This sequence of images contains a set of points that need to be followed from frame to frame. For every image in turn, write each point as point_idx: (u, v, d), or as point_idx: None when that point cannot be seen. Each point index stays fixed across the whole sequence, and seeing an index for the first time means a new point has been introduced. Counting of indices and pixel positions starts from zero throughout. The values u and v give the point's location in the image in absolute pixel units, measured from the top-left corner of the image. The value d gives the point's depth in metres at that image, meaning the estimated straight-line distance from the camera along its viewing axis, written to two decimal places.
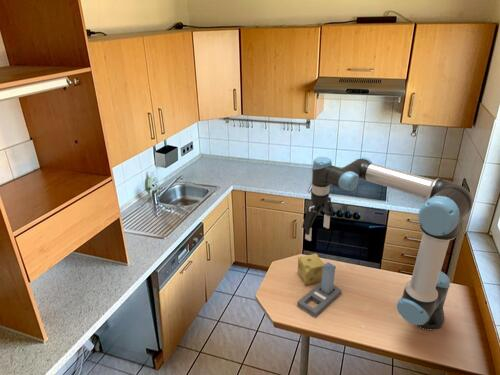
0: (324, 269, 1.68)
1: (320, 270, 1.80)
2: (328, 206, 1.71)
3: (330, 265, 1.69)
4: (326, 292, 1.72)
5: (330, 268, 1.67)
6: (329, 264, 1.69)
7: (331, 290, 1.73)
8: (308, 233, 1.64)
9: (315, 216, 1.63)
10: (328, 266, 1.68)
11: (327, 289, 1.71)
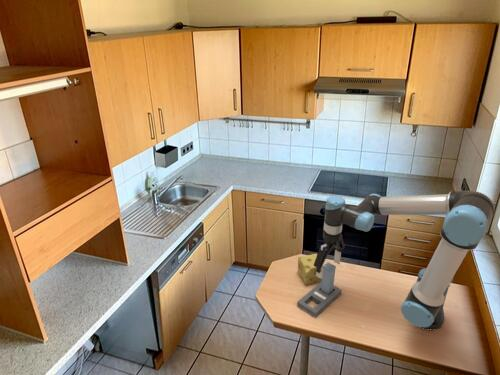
0: (324, 269, 1.68)
1: None
2: (339, 242, 1.68)
3: (330, 265, 1.69)
4: (326, 292, 1.72)
5: (330, 268, 1.67)
6: (329, 264, 1.69)
7: (331, 290, 1.73)
8: (319, 271, 1.62)
9: (327, 254, 1.60)
10: (328, 265, 1.68)
11: (327, 289, 1.71)
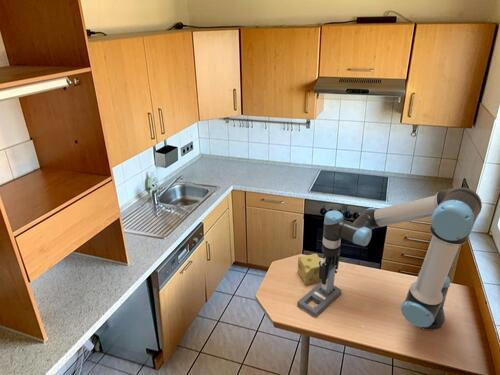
0: None
1: None
2: None
3: None
4: (326, 292, 1.72)
5: (330, 268, 1.67)
6: None
7: (331, 290, 1.73)
8: (325, 283, 1.69)
9: (329, 267, 1.65)
10: None
11: (327, 289, 1.71)
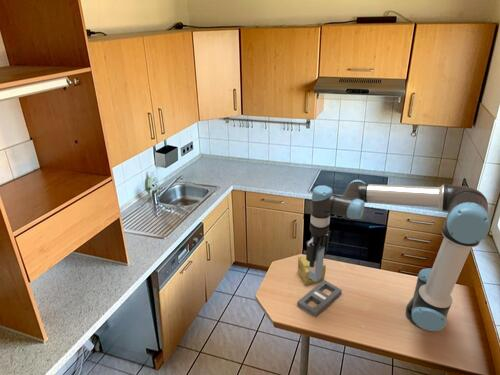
0: None
1: None
2: (324, 242, 1.58)
3: (319, 246, 1.56)
4: (314, 276, 1.59)
5: (318, 249, 1.54)
6: None
7: (320, 274, 1.60)
8: (312, 266, 1.56)
9: (317, 248, 1.52)
10: None
11: None
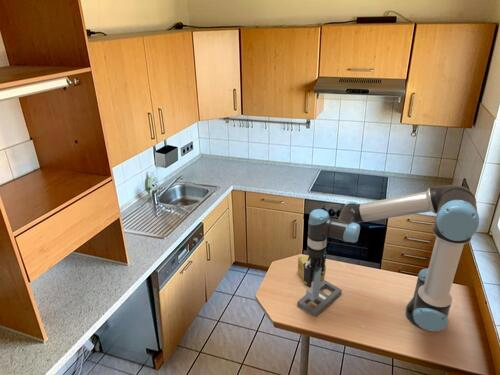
0: None
1: None
2: (321, 262, 1.61)
3: None
4: (311, 295, 1.63)
5: (315, 270, 1.57)
6: None
7: (317, 293, 1.64)
8: (310, 286, 1.59)
9: (314, 269, 1.56)
10: None
11: None
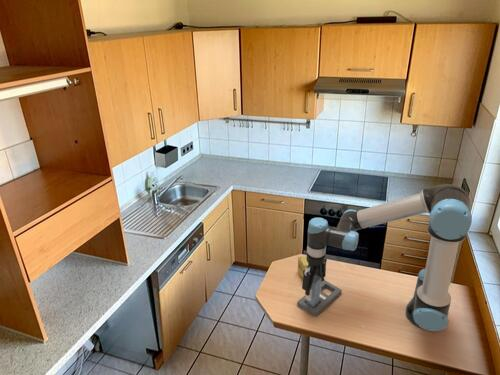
0: None
1: None
2: (321, 268, 1.63)
3: (316, 276, 1.62)
4: (311, 304, 1.65)
5: (315, 280, 1.60)
6: (315, 275, 1.62)
7: (317, 302, 1.66)
8: (308, 294, 1.60)
9: (313, 277, 1.57)
10: None
11: (312, 301, 1.64)
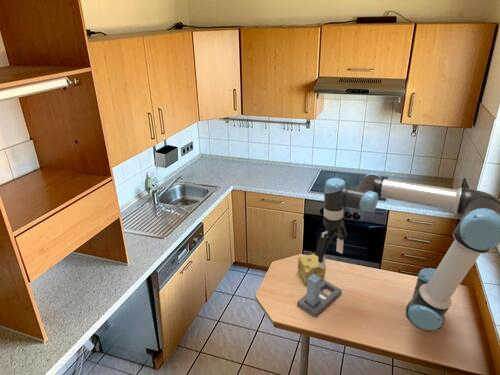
0: (309, 281, 1.61)
1: (320, 270, 1.80)
2: (341, 230, 1.58)
3: (315, 276, 1.62)
4: (311, 305, 1.65)
5: (315, 280, 1.60)
6: (314, 276, 1.62)
7: (317, 303, 1.66)
8: (321, 261, 1.51)
9: (328, 242, 1.50)
10: (313, 277, 1.61)
11: (312, 302, 1.64)
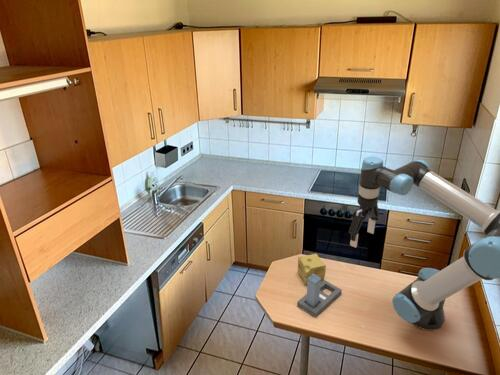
0: (309, 281, 1.61)
1: (320, 270, 1.80)
2: (374, 210, 1.58)
3: (315, 276, 1.62)
4: (311, 305, 1.65)
5: (315, 280, 1.60)
6: (314, 276, 1.62)
7: (317, 303, 1.66)
8: (354, 239, 1.52)
9: (362, 221, 1.50)
10: (313, 277, 1.61)
11: (312, 302, 1.64)
